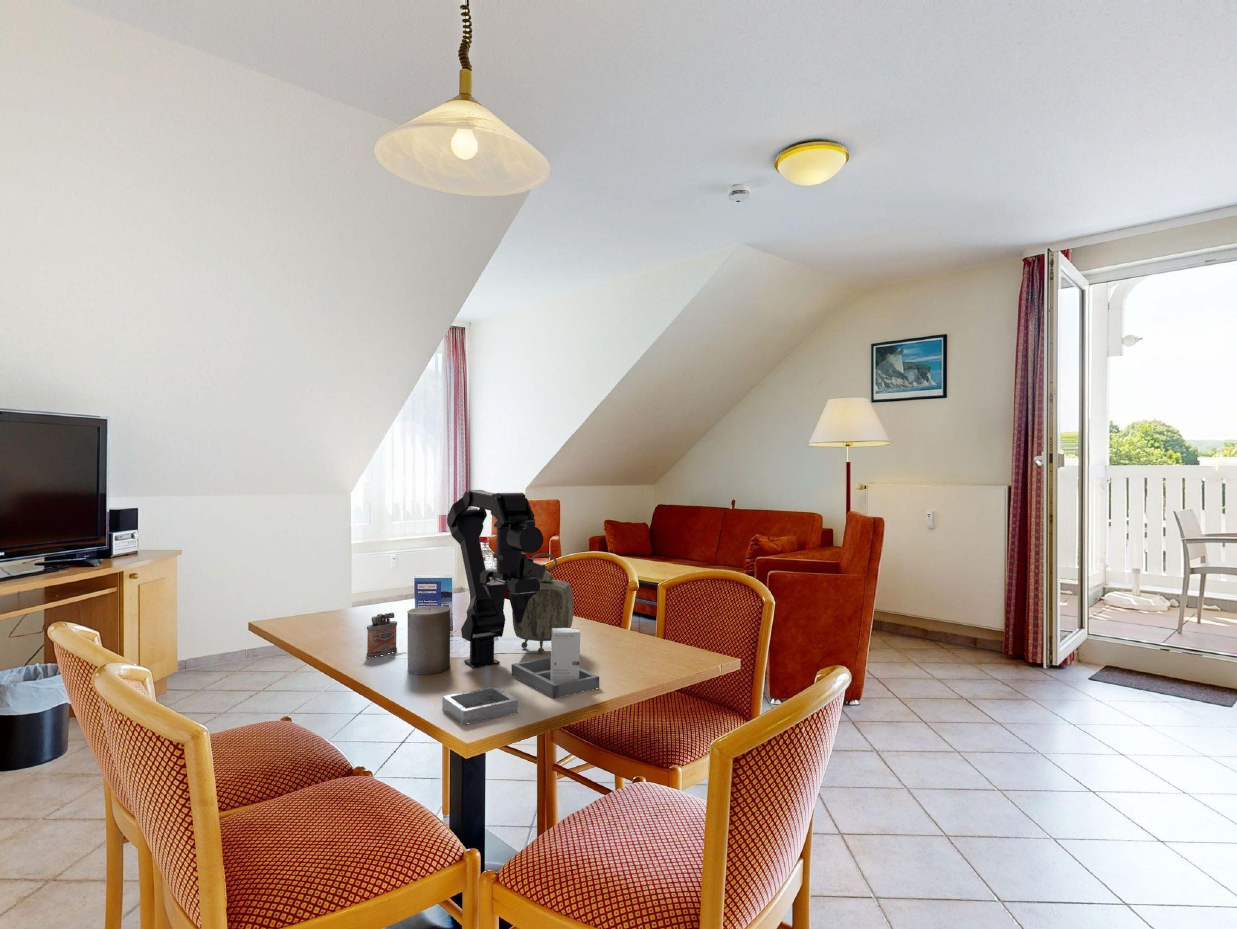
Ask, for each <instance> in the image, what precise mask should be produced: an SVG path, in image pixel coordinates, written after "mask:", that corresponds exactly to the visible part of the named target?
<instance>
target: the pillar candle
mask: <svg viewBox="0 0 1237 929" xmlns="http://www.w3.org/2000/svg"><path fill="white" fill-rule="evenodd" d="M450 668H451V609H450V607H448V606H444V605H431V604H428V606H419V607H414V608H411V609H409V610H407V670H408V672H409V673H411V674H414V675H431V674H437V673H443V672H446V671H448V670H450Z"/></svg>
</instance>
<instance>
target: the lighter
mask: <svg viewBox="0 0 1237 929" xmlns="http://www.w3.org/2000/svg"><path fill="white" fill-rule="evenodd" d="M394 618H395V612H387V613H386V612H385V613H383V614H382V613H378V614H377V615H375V616H371V623H372V624H369V625H367V626H366V630H367V642H366V643H367V646H366V647H367V648H366V649H367V650H366V651H367V652H366V658H368V657H374V658H376V657H375V656H379V657H382V656H381V655H384V656H387V655H386V654H388V653H392V652H395V653H397V652H398V647H397V626H398V621H397V620H391V619H394ZM396 651H397V652H396ZM392 654H393V653H392ZM388 655H389V654H388Z"/></svg>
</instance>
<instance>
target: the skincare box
mask: <svg viewBox="0 0 1237 929" xmlns="http://www.w3.org/2000/svg"><path fill="white" fill-rule="evenodd" d="M550 644H551V645H550V646H551V648H550V649H551V650H550V657H551V669H550V670H551V677H550V681H552V682H554V683H556V684H557V683H562V682H567V681H572V680H577V679H579V668H580V652H581V649H580V648H581V631H580V628H579V627H577V628H576V627H574V628H573V627H571V628H552V640H551V641H550Z"/></svg>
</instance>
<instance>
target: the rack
mask: <svg viewBox="0 0 1237 929" xmlns="http://www.w3.org/2000/svg"><path fill="white" fill-rule="evenodd" d="M511 676H512V677H514V678H516V679H518V680H519V679H520V681H521V682H524V683H525V684H527V685H529V686H531V687H532V688H535V689H536V688H537V690H538V691H540V692H541V693H544V694H545V695H547V696H550V697H551V698H553V699H556V698H557V699H558V698H562V697H566V695H567V696H571V695H575V694H574V693H576V694H581V693H583V692H582V691H586V692H588V691H587V690H590V691H593V690H592V689H595V690H597V689H596V688H599V689H600V676H599V675H597V674H594V673H592V672H591V671H587V670H585V669H583V668H581V667H579V679H577V680H572V681H567V682H562V683H557V684H556V683H554V682H552V681H550V677H551V656H550V657H545V658H539V659H534V660H532V659H531V660H528V661H522V662H517V663H516V662H515V663H512V664H511ZM580 692H581V693H580ZM561 696H562V697H561Z"/></svg>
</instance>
